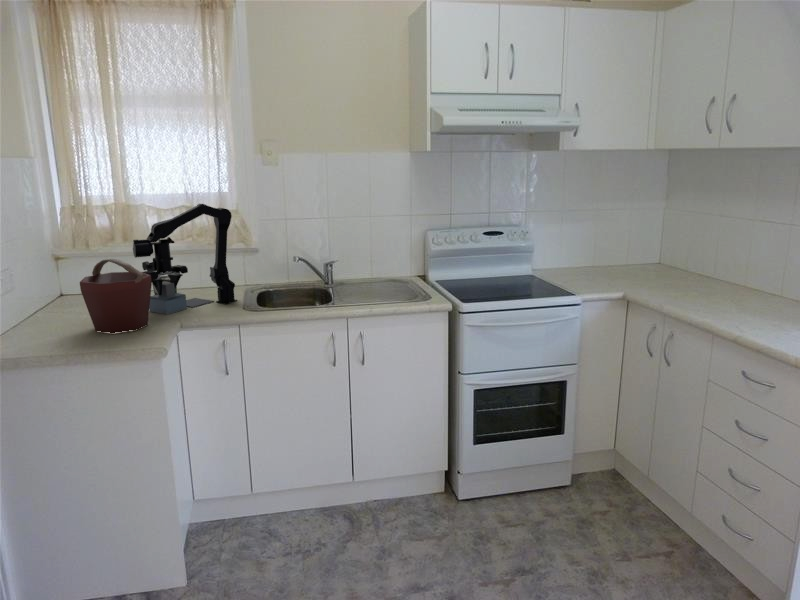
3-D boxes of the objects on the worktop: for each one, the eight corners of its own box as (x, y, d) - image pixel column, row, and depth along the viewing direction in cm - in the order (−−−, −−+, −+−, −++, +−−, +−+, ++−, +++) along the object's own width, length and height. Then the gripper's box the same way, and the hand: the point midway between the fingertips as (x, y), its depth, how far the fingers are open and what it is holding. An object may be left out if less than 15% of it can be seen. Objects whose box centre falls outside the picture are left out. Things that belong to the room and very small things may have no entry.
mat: (214, 301, 246) (214, 300, 246) (192, 307, 236) (192, 306, 236) (194, 298, 252) (194, 297, 252) (172, 304, 241) (172, 303, 241)
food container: (186, 298, 252) (183, 276, 250) (177, 301, 246) (174, 279, 244) (162, 297, 255) (159, 275, 253) (152, 300, 250) (150, 277, 247)
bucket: (164, 328, 207) (157, 259, 201) (98, 341, 192) (88, 268, 186) (138, 316, 224) (131, 252, 218) (76, 327, 209) (66, 259, 203)
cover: (186, 308, 235) (184, 282, 232) (166, 314, 226) (163, 286, 223) (170, 305, 239) (167, 280, 237) (149, 311, 231) (146, 284, 228)
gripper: (168, 250, 239) (171, 287, 243) (128, 257, 223) (133, 296, 227) (186, 252, 234) (190, 289, 238) (147, 259, 218) (152, 299, 222)
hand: (166, 293), depth 231 cm, fingers open, 6 cm apart
